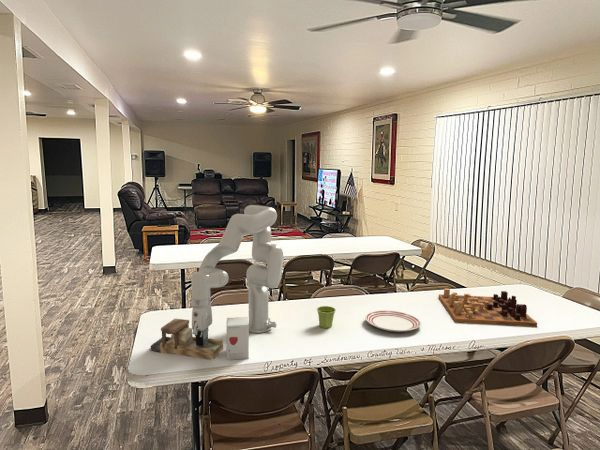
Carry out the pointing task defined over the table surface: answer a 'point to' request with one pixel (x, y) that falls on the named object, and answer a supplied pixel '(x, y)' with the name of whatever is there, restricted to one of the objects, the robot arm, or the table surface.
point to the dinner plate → (393, 320)
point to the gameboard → (486, 309)
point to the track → (168, 347)
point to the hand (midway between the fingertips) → (202, 342)
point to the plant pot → (326, 316)
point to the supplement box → (237, 338)
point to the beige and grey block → (190, 337)
